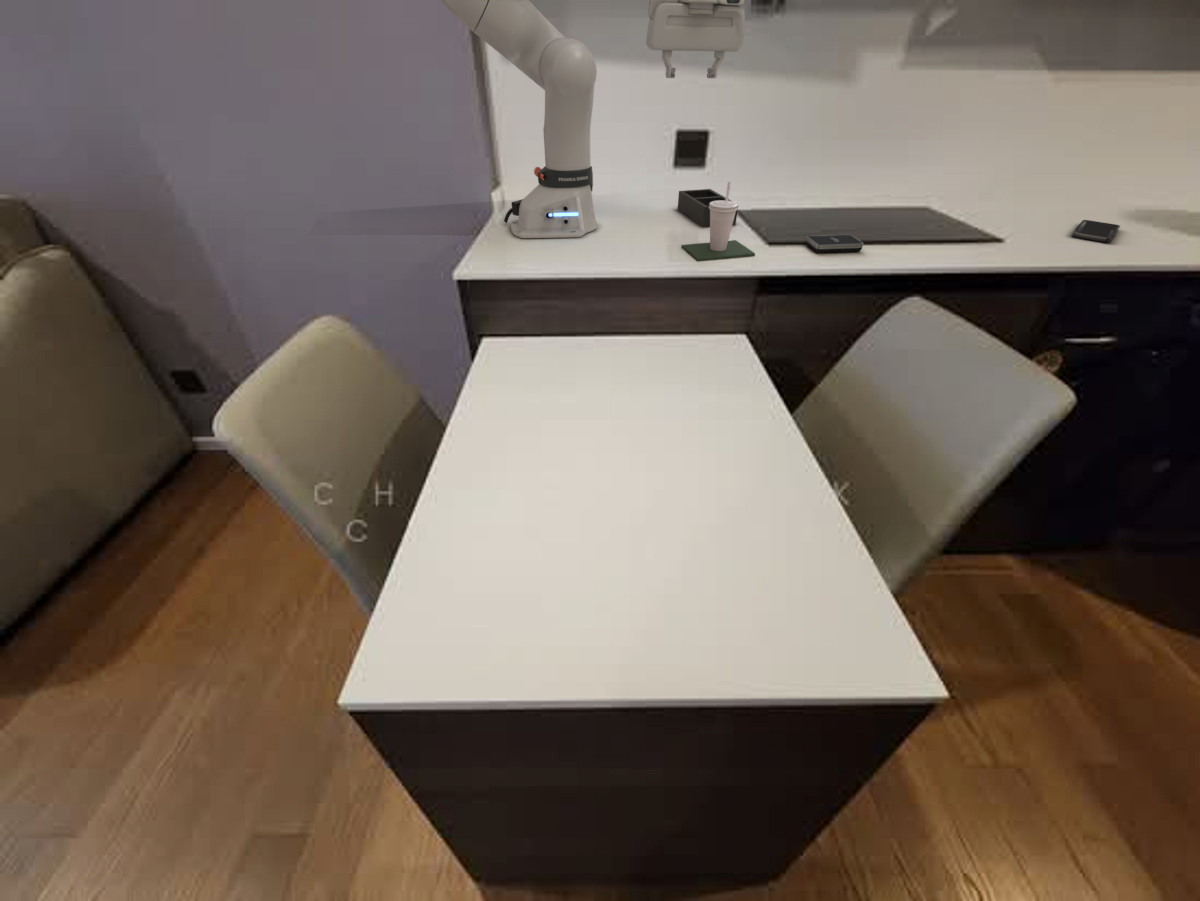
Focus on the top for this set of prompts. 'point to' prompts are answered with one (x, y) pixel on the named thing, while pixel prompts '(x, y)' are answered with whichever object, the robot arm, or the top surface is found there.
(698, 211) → the holder
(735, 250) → the mat
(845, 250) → the external hard drive
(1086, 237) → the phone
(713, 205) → the smoothie
